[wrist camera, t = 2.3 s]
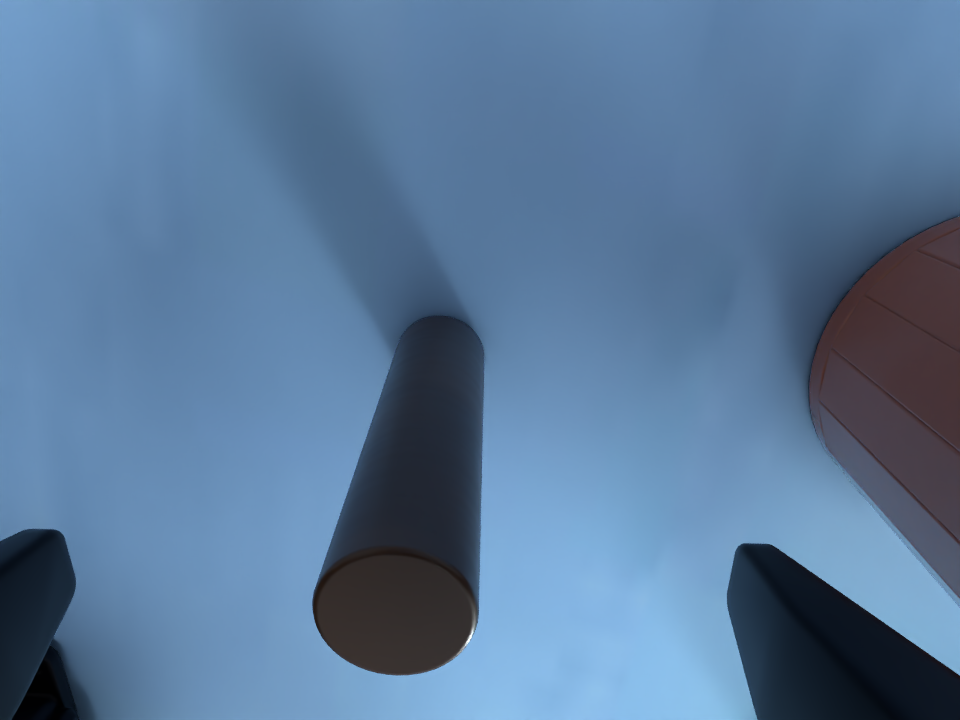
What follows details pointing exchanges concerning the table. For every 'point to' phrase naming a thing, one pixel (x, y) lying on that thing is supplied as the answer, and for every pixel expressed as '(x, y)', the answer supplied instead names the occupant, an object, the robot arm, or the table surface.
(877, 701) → the robot arm
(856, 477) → the terracotta cup
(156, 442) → the table surface
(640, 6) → the table surface
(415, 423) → the walnut stick
